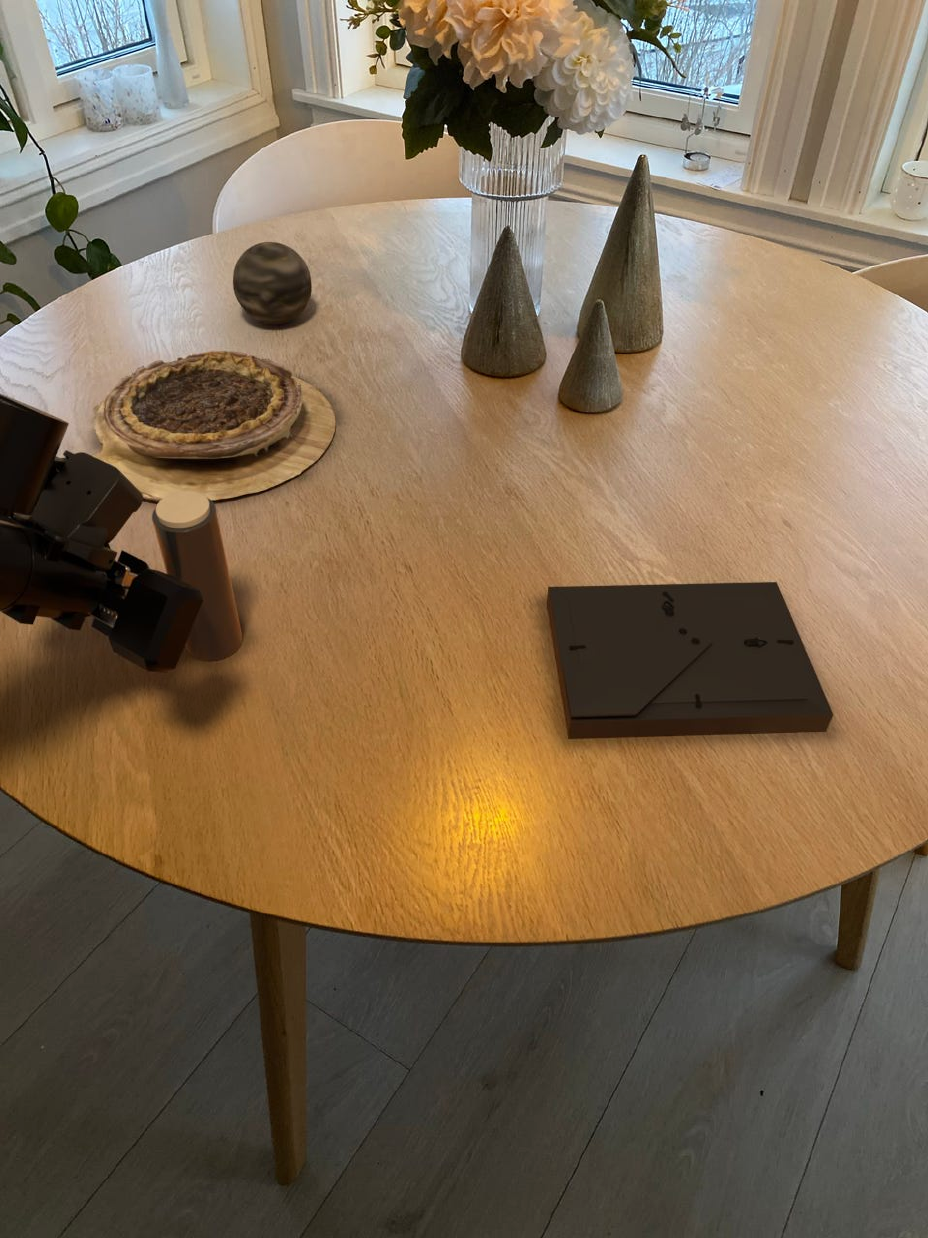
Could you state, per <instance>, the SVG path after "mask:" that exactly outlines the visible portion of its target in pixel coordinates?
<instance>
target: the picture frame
mask: <svg viewBox="0 0 928 1238" xmlns="http://www.w3.org/2000/svg"><path fill="white" fill-rule="evenodd" d="M547 588H548V589H547V596H546V597H547V598H546V609H547V613H548V621H549V626H550V630H551V631H550V632H551V638H552V644H553V650H554V651H553V652H554V657H555V664H556V669H557V670H556V671H557V676H558V683H559V689H560V695H561V701H562V707H563V713H564V719H565V725H566V732H567V738H568V740H569V739H599V738H600V739H601V738H602V739H604V738H636V737H669V736H676V737H677V736H704V735H705V736H707V735H736V734H737V735H741V734H742V735H743V734H744V735H745V734H746V735H747V734H773V733H774V734H776V733H778V734H779V733H809V732H810V733H811V732H812V733H813V732H814V733H815V732H816V733H817V732H827V731H828V729H829V725H830V724H831V721H832V719H833V716H834V713H833V710H832V707H831V705H830V703H829V701H828V699H827V696H826V693H825V692H824V689H823V687H822V685H821V682H820V680H819V677H818V675H817V673H816V670H815V668H814V666H813V663H812V661H811V658H810V656H809V654H808V652H807V649H806V647H805V645H804V642H803V640H802V638H801V635H800V633H799V630H798V629H797V626H796V623H795V621H794V619H793V616H792V614H791V612H790V609H789V608H788V605H787V603H786V600H785V598H784V596H783V593H782V591H781V588H780V587H779V584H778V581H762V582H761V581H759V582H758V581H757V582H755V581H753V582H711V583H709V582H708V583H707V582H706V583H669V584H668V583H667V584H665V583H661V584H659V583H658V584H621V585H620V584H618V585H616V584H615V585H612V584H611V585H573V586H570V585H569V586H568V585H567V586H565V585H564V586H548V587H547Z"/></svg>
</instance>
